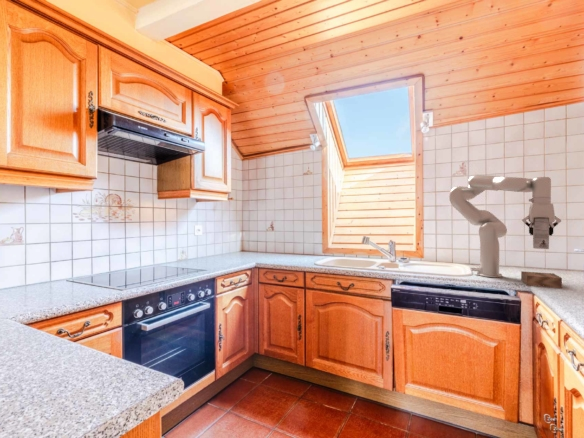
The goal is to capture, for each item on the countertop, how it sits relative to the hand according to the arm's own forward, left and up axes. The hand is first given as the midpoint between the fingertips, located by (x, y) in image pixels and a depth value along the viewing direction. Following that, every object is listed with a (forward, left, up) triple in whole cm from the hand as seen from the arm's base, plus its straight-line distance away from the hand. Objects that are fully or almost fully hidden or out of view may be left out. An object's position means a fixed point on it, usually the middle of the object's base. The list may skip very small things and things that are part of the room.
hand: (540, 234), depth 160 cm
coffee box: (0, 0, -7) cm, 7 cm away
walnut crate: (0, 0, -26) cm, 26 cm away
